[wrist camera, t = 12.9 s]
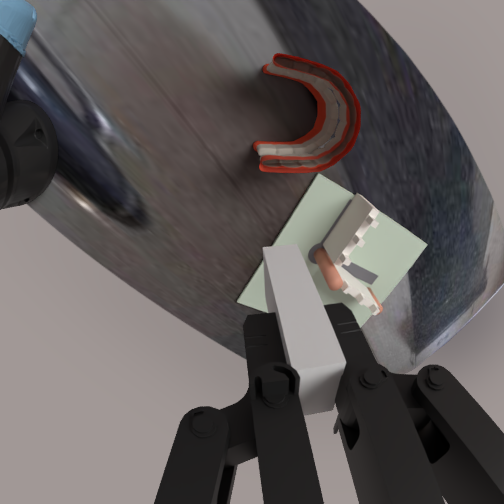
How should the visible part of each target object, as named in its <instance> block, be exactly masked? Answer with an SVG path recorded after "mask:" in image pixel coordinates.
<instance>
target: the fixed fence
mask: <svg viewBox="0 0 504 504" xmlns="http://www.w3.org/2000/svg"><path fill="white" fill-rule="evenodd" d="M378 214H379V211H378V210H377V209H376V208H375V207H374V206H373V205H372V204H371V203H370V202H369V201H367V200H366V199H365V198H364V197H363V196H361V195H360V194H358V193H356V195H355V197H354V198H353V200H352V202H351V203H350V205H349V206H348V208H347V209H346V211H345V212H344V214H343V215H342V217H341V218H340V220H339V221H338V222H337V224H336V225H335V227H334V228H333V230H332V231H331V233H330V234H329V236H328V237H327V239H326V240H325V242H324V243H323V246H324V248H325V249H323V248H319V249H317V250H316V251H315V252H314V258H315V260H316V262H317V264H318V266H319V268H320V270H321V272H322V274H323V276H324V279H325V281H326V283H327V285H328V287H329V289H330V290H333V291H335V290H338V289H340V288H341V287H342V285H343V280H342V278H341V276H340V275H339V273H338V271H337V269H336V268H335V266H334V264H335V265H337V266H339V267H341V266H342V264H345V265H347V266H349V265H350V263H351V262H352V261H351V259H350V258H349V255H350V253H351V252H352V251H353V249H354V248H355V247H356V245H358V246H360V247H361V248H362V247H363V245H364V244H365V241H364V240H363V239H362V237H363V235H364V234H365V232H366V231H367V230H368V228H369V227H370V225H371V226H372V227H374V228H375V229H376V227H377V226H378V224H379V223H378V222H377V221H376V220H375V218H376V217H377V215H378ZM326 251H327V252H326ZM330 258H331V259H330Z"/></svg>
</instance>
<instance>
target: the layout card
mask: <svg viewBox="0 0 504 504" xmlns="http://www.w3.org/2000/svg"><path fill="white" fill-rule="evenodd" d="M354 197H355V195H354V194H352V193H351V192H349V191H347V190H346V189H344V188H342V187H341V186H339V185H337V184H336V183H334V182H332V181H331V180H329V179H327V178H326V177H324V176H322V175H321V174H319V173H317V175H316V176H315V178H314V179H313V181H312V183H311V184H310V186H309V187H308V189H307V191H306V192H305V194H304V195H303V197H302V199H301V200H300V202H299V203H298V205H297V207H296V208H295V210H294V211H293V213H292V215H291V216H290V218H289V219H288V221H287V222H286V224H285V226H284V227H283V229H282V230H281V232H280V234H279V235H278V237H277V238H276V240H275V241H274V243H273V245H272V246H281V245H291V244H297V245H298V247H299V250H300V252H301V254H302V256H303V259H304V261H305V263H306V266H307V268H308V270H309V272H310V275H311V277H312V279H313V282H314V284H315V286H316V289H317V291H318V294H319V296H320V298H321V301H322V303H323V305H327V304H334V303H341V302H342V303H343V304H344V305H346V306H347V307H348V308H349V309H350V310H352V312H353V314H354V316H355V318H356V320H357V323H358V324H359V326H360V327H361V326H362V325H363V324H364V323H365V322H366V321H367V320H368V318H369V317H370V316H371V315H372V312H371V310H370V309H369V308H368V307H366V306H365V305H364V304H363V305H360V304H359V303H358V301H357V299H356V298H355V297H353V296H352V295H351V294H349V293H347V294H345V293H344V292H343V291H342V289H341V288H340V289H338V290H335V291H333V290H330V289H329V287H328V285H327V283H326V281H325V279H324V276H323V274H322V272H321V270H320V268H319V266H318V264H317V262H316V260H315V258H314V252H315V251H316V250H317V249H319V248H323V249H325V248H324V246H323V243H324V242H325V240H326V239H327V237H328V236H329V234H330V233H331V231H332V230H333V228H334V227H335V225H336V224H337V222H338V221H339V220H340V218H341V217H342V215H343V214H344V212H345V211H346V209H347V208H348V206H349V205H350V203H351V202H352V200H353V198H354ZM378 211H379V210H378ZM375 220H376V221H377V222H378V223H379V224H378V226H377V227H376V229H375V228H374V227H372V226H371V225H370V227H369V228H368V230H367V231H366V232H365V234H364V235H363V237H362V239H363V240H364V241H365V244H364V245H363V247H362V248H361V247H360V246H358V245H356V247H355V248H354V249H353V251H352V252H351V253H350V255H349V258H350V259H351V261H352V262H351V263H350V265H349V266H347V265H345V264H342V266H341V267H343V268H344V269H345V270H346V271H348V272H349V273H350V274H351V275H352V276H354V277H355V278H356V279H357V280H359V281H360V282H361V283H362V284H363V285H365V286H366V287H370V288H371V290H372V291H373V293H374V295H375V296H376V298H377V299H378V301H379V303H380V304H381V303H382V302H383V301H384V300H385V299H386V297H387V296H388V295H389V294H390V293H391V291H392V290H393V289H394V288H395V286H396V285H397V284H398V283H399V281H400V280H401V279H402V278H403V276H404V275H405V274H406V273H407V271H408V270H409V269H410V267H411V266H412V265H413V263H414V262H415V261H416V259H417V258H418V257H419V255H420V254H421V253H422V251H423V250H424V249H425V247H426V246H427V244H426V243H425V242H423V241H422V240H421V239H419V238H418V237H416V236H415V235H414V234H412V233H411V232H409V231H408V230H407V229H405V228H404V227H402V226H401V225H399V224H398V223H396V222H395V221H394V220H392V219H391V218H389V217H388V216H386V215H385V214H383V213H382V212H380V211H379V214H378V215H377V217H376V218H375ZM326 252H327V251H326ZM237 302H238V303H241V304H244V305H246V306H249V307H252V308H255V309H258V310H261V311H264V312H267V313H268V309H267V304H266V299H265V283H264V262H263V260H262V262H261V263H260V265H259V267H258V268H257V270H256V271H255V273H254V274H253V276H252V278H251V279H250V281H249V282H248V284H247V285H246V287H245V288H244V290H243V292H242V293H241V295H240V296H239V298H238V299H237Z"/></svg>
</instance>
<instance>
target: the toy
mask: <svg viewBox="0 0 504 504" xmlns="http://www.w3.org/2000/svg"><path fill="white" fill-rule="evenodd" d="M262 71H263V72H264V73H266V74H269V75H275V76H280V77H284V78H288V79H291V80H294V81H297V82H300V83H302V84H303V85H304V86H306V87H307V88H308V89H309V91H310V92H311V93H312V94H313V95H314V97H315V99H316V100H317V110H318V116H317V119H316V122H315V124H314V128H313V129H312V130H311V131H310V132H308V133H307V134H306V135H305V136H303V137H301V138H299V139H297V140H295V141H288V142H266V141H256V142H254V144H253V148H254V150H255V151H257V152H258V155H260V165H259V168H260V170H261V171H264V172H279V173H309V172H319V171H322V170H325V169H327V168H329V167H330V166H332V165H334V164H336V163H337V162H338V161H339V160H340V159H341V158H342V157H344V156H345V155H346V154H347V153H348V152H349V151H350V150H351V149H352V147H353V146H354V144H355V141H356V138H357V136H358V133H359V130H360V122H361V109H360V104H359V102H358V99H357V98H356V96H355V94H354V92H353V90H352V88H351V86H350V84H349V83H348V82H347V81H346V80H345V79H344V77H343V76H342V75H341V74H340V73H339V72H337V71H336V70H334V69H332V68H329V67H327V66H325V65H322V64H320V63H317V62H313V61H310V60H307V59H303V58H300V57H295V56H291V55H286V54H280V53H277V54H275V55H274V56H273V60H272V62H271V63H270V64H266V65H264V66H263V68H262ZM321 79H322V80H321ZM328 87H329V88H330V89H332V90H333V93H334V95H335V96H336V98H337V100H338V101H339V103H340V104H341V105H340V109H339V116H340V120H341V122H340V123H339V124H338V126H337V129H336V132H335V138H333V139H331V140H330V141H329V142H328V143H326V142H327V141H328V140H329V139H330V137H331V135H332V134H333V133H334V131H335V128H336V125H337V119H338V105H337V104H336V98H335V97H334V95H333V93H332V92H331V90H329V89H328ZM325 143H326V145H325V146H324V148H319V149H318V147H319V146H322V145H323V144H325ZM311 152H313V153H312V154H309V153H311Z"/></svg>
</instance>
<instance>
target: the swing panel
mask: <svg viewBox="0 0 504 504" xmlns="http://www.w3.org/2000/svg"><path fill="white" fill-rule="evenodd" d="M330 259H331V258H330ZM334 266H335V268H336V269H337V271H338V273H339V275H340V276H341V278H342V280H343V285H342V287H341V289H342V291H343V292H344V293H345V294H347V293H349V294H351V295H352V296H353V297H355V298H356V299H357V301H358V303H359V304H360V305H363V304H364V305H365V306H366V307H368V308H369V309H370V310H371V312H372V314H373V315H378V314H380V313H381V312H382V310H383V308H382V306H381V304H380V303H379V301H378V299H377V298H376V296H375V295H374V293H373V291H372V290H371V288H370V287H366V286H365V285H363V284H362V283H361V282H360V281H359V280H357V279H356V278H355V277H354V276H352V275H351V274H350V273H349V272H348V271H346V270H345V269H344V268H343V267H339V266H337V265H335V264H334Z"/></svg>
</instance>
